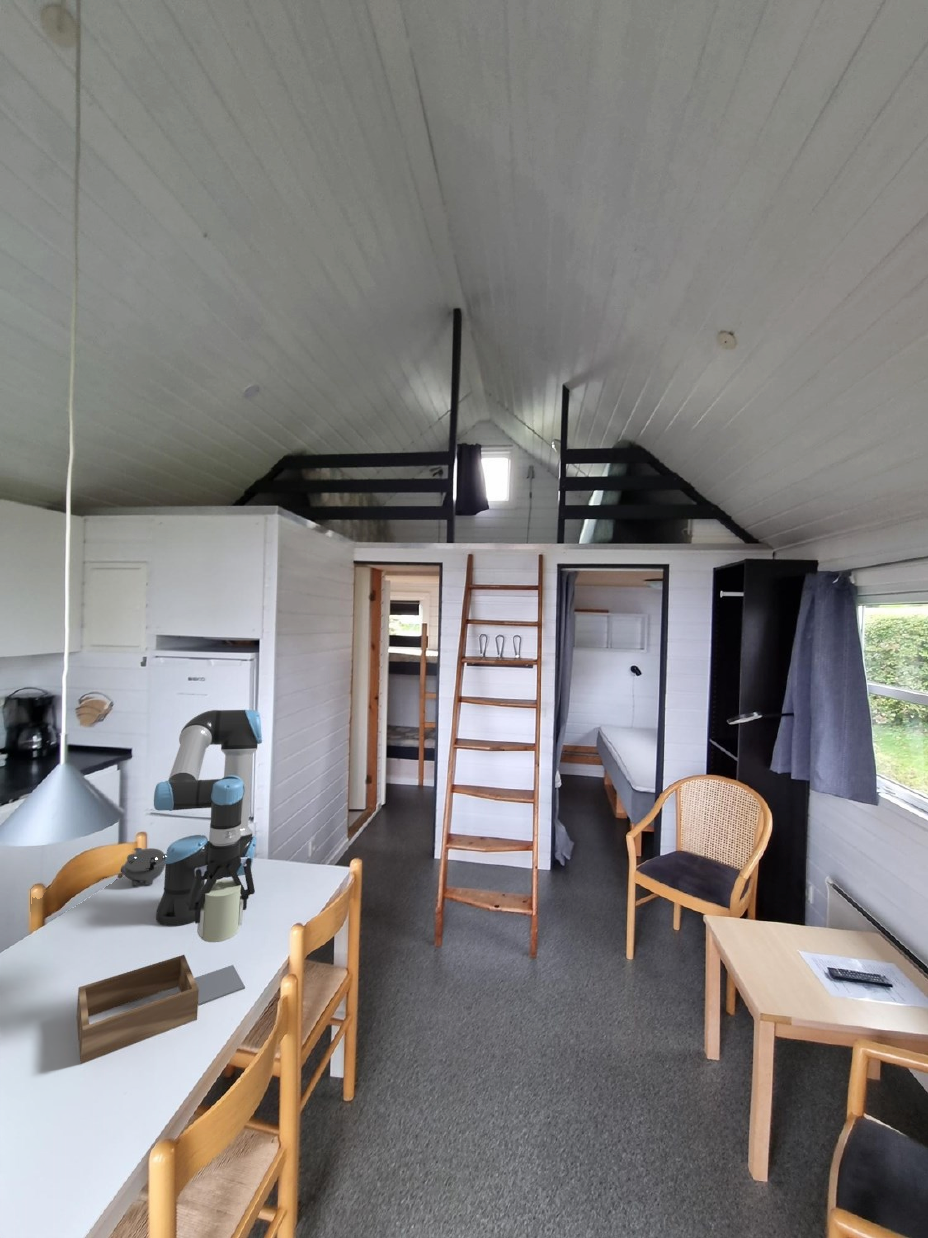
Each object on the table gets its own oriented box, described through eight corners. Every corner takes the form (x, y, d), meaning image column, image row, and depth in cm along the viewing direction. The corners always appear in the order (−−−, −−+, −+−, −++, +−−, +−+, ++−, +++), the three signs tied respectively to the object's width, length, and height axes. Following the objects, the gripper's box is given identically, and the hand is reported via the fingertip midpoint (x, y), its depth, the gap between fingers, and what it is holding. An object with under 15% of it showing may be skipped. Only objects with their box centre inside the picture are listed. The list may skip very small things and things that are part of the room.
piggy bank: (126, 876, 193) (128, 844, 193) (171, 873, 197) (173, 842, 197) (114, 891, 182) (116, 857, 182) (162, 888, 186) (164, 855, 186)
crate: (76, 1017, 124) (78, 987, 124) (182, 981, 138) (184, 954, 138) (80, 1064, 111) (82, 1030, 111) (197, 1019, 125) (198, 989, 125)
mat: (188, 981, 138) (188, 980, 138) (232, 966, 145) (233, 965, 145) (198, 1005, 130) (198, 1004, 130) (244, 988, 137) (245, 987, 137)
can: (230, 919, 144) (233, 874, 145) (244, 933, 138) (247, 887, 138) (194, 931, 138) (197, 884, 138) (207, 947, 131) (210, 898, 131)
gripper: (182, 855, 129) (176, 949, 128) (271, 837, 142) (266, 922, 142) (175, 845, 135) (170, 935, 134) (262, 828, 148) (257, 910, 147)
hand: (219, 928), depth 138 cm, fingers closed on can, 9 cm apart
